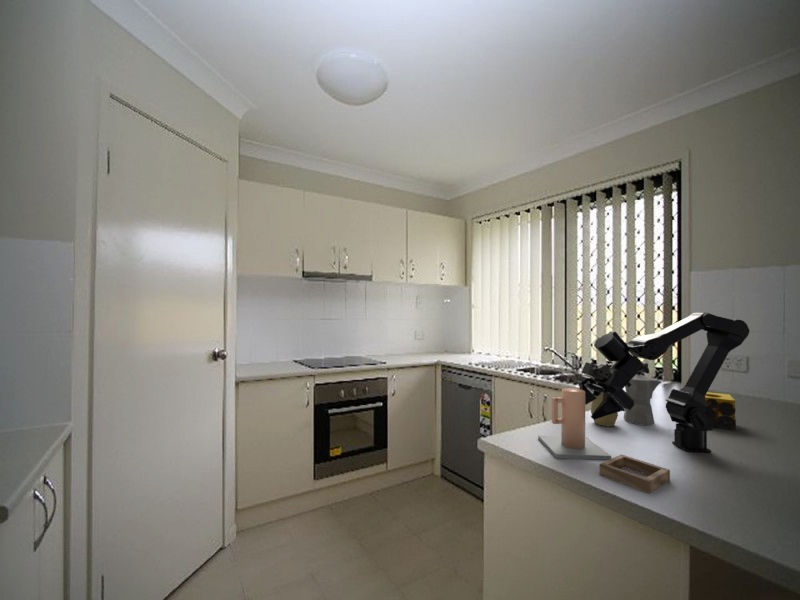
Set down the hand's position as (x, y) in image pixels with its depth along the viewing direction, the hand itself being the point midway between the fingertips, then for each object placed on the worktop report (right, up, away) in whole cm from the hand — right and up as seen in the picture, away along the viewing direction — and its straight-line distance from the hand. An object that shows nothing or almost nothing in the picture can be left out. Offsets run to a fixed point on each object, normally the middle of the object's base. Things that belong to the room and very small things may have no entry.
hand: (583, 413), depth 103 cm
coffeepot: (+31, -11, +26) cm, 42 cm away
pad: (-3, -10, 0) cm, 10 cm away
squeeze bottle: (+18, -11, +22) cm, 30 cm away
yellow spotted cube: (+56, -11, +23) cm, 61 cm away
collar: (+3, -9, -18) cm, 20 cm away
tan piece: (-4, -9, 0) cm, 10 cm away
